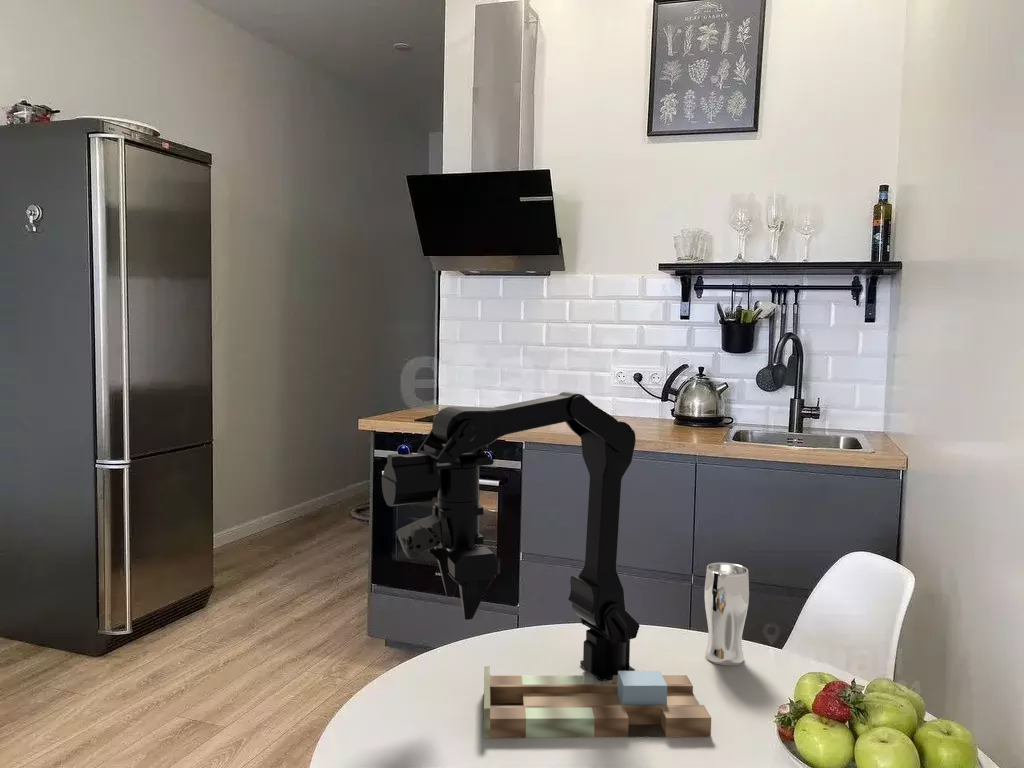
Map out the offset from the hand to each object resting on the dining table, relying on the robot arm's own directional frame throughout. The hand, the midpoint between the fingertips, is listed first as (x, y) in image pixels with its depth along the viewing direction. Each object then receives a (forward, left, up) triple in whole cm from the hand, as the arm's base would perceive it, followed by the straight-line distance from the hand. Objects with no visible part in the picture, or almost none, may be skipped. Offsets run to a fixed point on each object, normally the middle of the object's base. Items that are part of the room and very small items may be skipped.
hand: (459, 607), depth 108 cm
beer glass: (-46, +3, -14) cm, 48 cm away
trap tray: (-16, +10, -14) cm, 24 cm away
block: (-23, +13, -13) cm, 29 cm away
